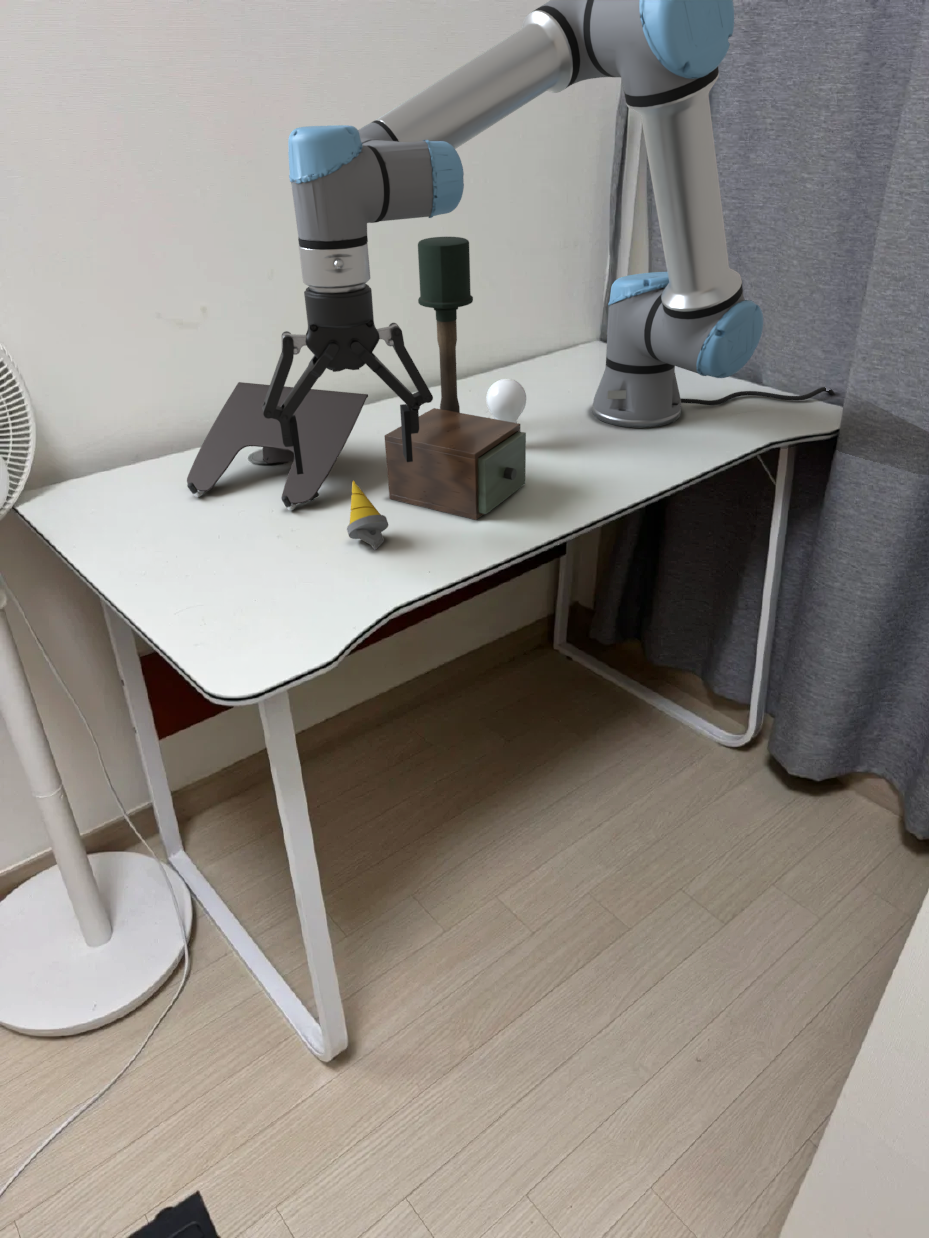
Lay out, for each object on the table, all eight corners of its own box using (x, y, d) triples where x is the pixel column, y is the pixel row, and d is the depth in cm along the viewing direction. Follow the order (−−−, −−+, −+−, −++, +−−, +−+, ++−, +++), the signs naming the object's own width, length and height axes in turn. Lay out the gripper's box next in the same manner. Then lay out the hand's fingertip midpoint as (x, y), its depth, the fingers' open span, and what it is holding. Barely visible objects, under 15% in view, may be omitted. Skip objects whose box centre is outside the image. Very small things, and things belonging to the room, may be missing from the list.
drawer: (532, 485, 124) (533, 434, 120) (493, 516, 116) (493, 462, 112) (447, 467, 131) (445, 417, 126) (404, 494, 123) (400, 443, 118)
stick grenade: (477, 421, 150) (473, 235, 133) (473, 439, 142) (468, 245, 126) (429, 421, 150) (419, 236, 134) (422, 439, 143) (411, 246, 127)
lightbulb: (505, 436, 143) (505, 370, 137) (533, 445, 139) (535, 378, 133) (478, 447, 140) (477, 380, 134) (507, 457, 136) (507, 388, 130)
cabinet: (520, 486, 126) (520, 423, 121) (476, 520, 117) (474, 454, 112) (436, 468, 133) (433, 407, 127) (389, 499, 124) (384, 435, 119)
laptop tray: (194, 522, 132) (166, 483, 125) (255, 413, 143) (232, 371, 135) (327, 542, 125) (306, 503, 118) (380, 427, 136) (364, 383, 128)
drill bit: (346, 558, 110) (325, 488, 112) (375, 559, 114) (354, 491, 116) (374, 540, 107) (352, 469, 109) (403, 542, 111) (380, 473, 113)
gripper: (223, 300, 90) (253, 487, 102) (453, 284, 95) (458, 464, 106) (222, 286, 96) (251, 463, 108) (439, 271, 101) (445, 442, 113)
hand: (354, 464), depth 107 cm, fingers open, 13 cm apart
